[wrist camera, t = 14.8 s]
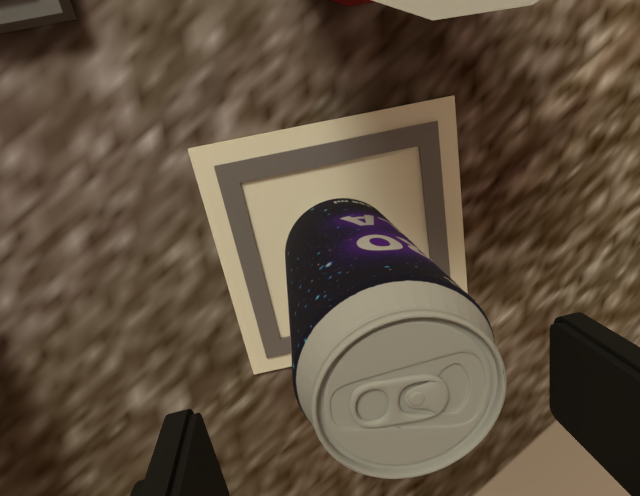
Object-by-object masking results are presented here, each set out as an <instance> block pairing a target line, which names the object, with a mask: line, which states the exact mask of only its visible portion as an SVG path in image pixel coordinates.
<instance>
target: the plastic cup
mask: <svg viewBox="0 0 640 496" xmlns="http://www.w3.org/2000/svg"><path fill="white" fill-rule="evenodd" d="M330 1H333V2H337V3H340V4H343V5H346V6H354V5H360V4H366V3H373V2H378V3H381V4H384V5H387V6H390V7H393V8H396V9H399V10H402V11H405V12H408V13H412V14H415V15H418V16H421V17H424V18H427V19H430V20H439V19H445V18H452V17H458V16H465V15H471V14H477V13H484V12H490V11H497V10H503V9H509V8H516V7H522V6H529V5H533V4H534V3H536V2H537V1H539V0H330Z"/></svg>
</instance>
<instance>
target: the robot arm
mask: <svg viewBox="0 0 640 496" xmlns="http://www.w3.org/2000/svg"><path fill="white" fill-rule="evenodd" d="M550 409H551V412H552V414H553V416H554V417H555V419H556V420H557V421H558V422H559V423H560V424H561V425H562V426H563V427H564V428H565V429H566V430H567V431H568V432H569V433H570V434H571V435H572V436H573V437H574V438H575V439H576V440H577V441H578V442H579V443H580V444H581V445H582V446H583V447H584V448H585V449H586V450H587V451H588V452H589V453H590V454H591V455H592V456H593V457H594V458H595V459H596V460H597V461H598V462H599V463H600V464H601V465H602V466H603V467H604V468H605V469H606V470H607V471H608V472H609V473H610V475H612V477H614V479H615V480H616V481H617V482H618V483H619V484H620V485H621V486H622V487H623V488H624V489H625V490H626V491H627V492H628V493H629V494H630V495H631V496H640V347H638V346H637V345H635V344H633V343H632V342H630V341H628V340H627V339H625V338H623V337H622V336H620V335H618V334H616V333H615V332H613V331H611V330H610V329H608V328H606V327H605V326H603V325H601V324H600V323H598V322H596V321H595V320H593V319H591V318H590V317H588V316H586V315H585V314H583V313H573V314H569V315H565V316H561V317H558V318H556V319H555V321H554V324H553V325H551V327H550ZM130 496H229V492H228V488H227V486H226V483H225V480H224V477H223V474H222V471H221V469H220V466H219V463H218V460H217V457H216V455H215V452H214V449H213V446H212V443H211V441H210V438H209V435H208V432H207V429H206V427H205V424H204V421H203V418H202V416H201V414H200V413H196V414H194V413H193V411H192V410H191V409H187V410H183V411H179V412H175V413H171V414H168V415H166V417H165V419H164V422H163V425H162V428H161V431H160V434H159V437H158V440H157V443H156V446H155V449H154V452H153V455H152V458H151V462H150V465H149V468H148V471H147V474H146V477H145V480H141V481H138V482H137V483H136V484H135V486H134V488H133V490H132V492H131V495H130Z"/></svg>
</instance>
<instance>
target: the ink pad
mask: <svg viewBox="0 0 640 496" xmlns="http://www.w3.org/2000/svg"><path fill="white" fill-rule="evenodd" d="M71 20H77V17H76V15H75V12H74V9H73V6H72V3H71V0H0V34H2V33H7V32H12V31H18V30H23V29H28V28H34V27H39V26H45V25H50V24H55V23H61V22H66V21H71Z"/></svg>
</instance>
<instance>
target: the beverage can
mask: <svg viewBox="0 0 640 496" xmlns="http://www.w3.org/2000/svg"><path fill="white" fill-rule="evenodd" d="M285 264H286V280H287V296H288V312H289V328H290V344H291V359H292V375H293V386H294V392H295V395H296V399H297V401H298V404H299V406H300V408H301V410H302V412H303V413H304V415H305V416H306V418H307V419H308V420H309V422H310V423H311V424H312V425H313V426H314V429H315V432H316V434H317V436H318V438H319V440H320V442H321V443H322V445H323V446H324V448H325V449H326V450H327V451H328V452H329V453H330V455H331V456H332V457H333V458H334V459H336V460H337V461H338V462H340V463H341V464H342V465H344V466H346V467H348V468H350V469H352V470H353V471H355V472H358V473H361V474H364V475H367V476H372V477H377V478H386V479H402V478H412V477H417V476H422V475H426V474H429V473H432V472H435V471H438V470H440V469H442V468H444V467H447V466H449V465H451V464H452V463H454V462H456V461H457V460H459V459H461V458H462V457H464V456H465V455H466V454H468V453H469V452H470V451H472V450H473V449H474V448H475V447H476V446H477V445H478V444H479V443H480V442H481V441H482V440H483V439H484V438H485V436H486V435H487V434H488V433H489V431H490V430H491V429H492V427H493V425H494V424H495V422H496V420H497V418H498V417H499V414H500V412H501V409H502V406H503V404H504V399H505V394H506V380H507V378H506V372H505V366H504V363H503V360H502V357H501V355H500V353H499V351H498V349H497V347H496V346H495V341H494V335H493V332H492V328H491V326H490V323H489V321H488V319H487V317H486V315H485V313H484V312H483V310H482V309H481V308H480V306H479V305H478V304H477V303H476V302H475V301H474V300H473V299H472V298H471V297H470V296H469V295H468V294H467V293H466V292H465V291H464V290H463V289H462V288H461V287H460V286H458V285H457V284H456V283H455V282H454V281H453V280H452V279H451V278H450V277H449V276H448V275H447V274H446V273H445V272H444V271H442V270H441V269H440V268H439V267H438V266H437V265H436V264H435V263H434V262H433V261H432V260H431V259H430V258H429V257H427V256H426V255H425V254H424V253H423V252H422V251H421V250H420V249H419V248H418V247H417V246H416V245H415V244H414V243H412V242H411V241H410V240H409V239H408V238H407V237H406V236H405V235H404V234H403V233H402V232H401V231H400V230H399V229H397V228H396V227H395V226H394V225H393V224H392V223H391V222H390V221H389V220H388V219H387V218H386V217H385V216H384V215H382V214H381V213H380V212H379V211H378V210H377V209H376V208H374V207H373V206H371V205H369V204H367V203H365V202H362V201H359V200H356V199H350V198H337V199H331V200H327V201H324V202H321V203H319V204H317V205H315V206H313V207H311V208H310V209H308V210H307V211H306V212H305V213H303V214H302V215H301V216H300V217H299V219H298V220H297V221H296V222H295V224H294V225H293V227H292V229H291V231H290V233H289V235H288V238H287V242H286V247H285Z"/></svg>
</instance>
